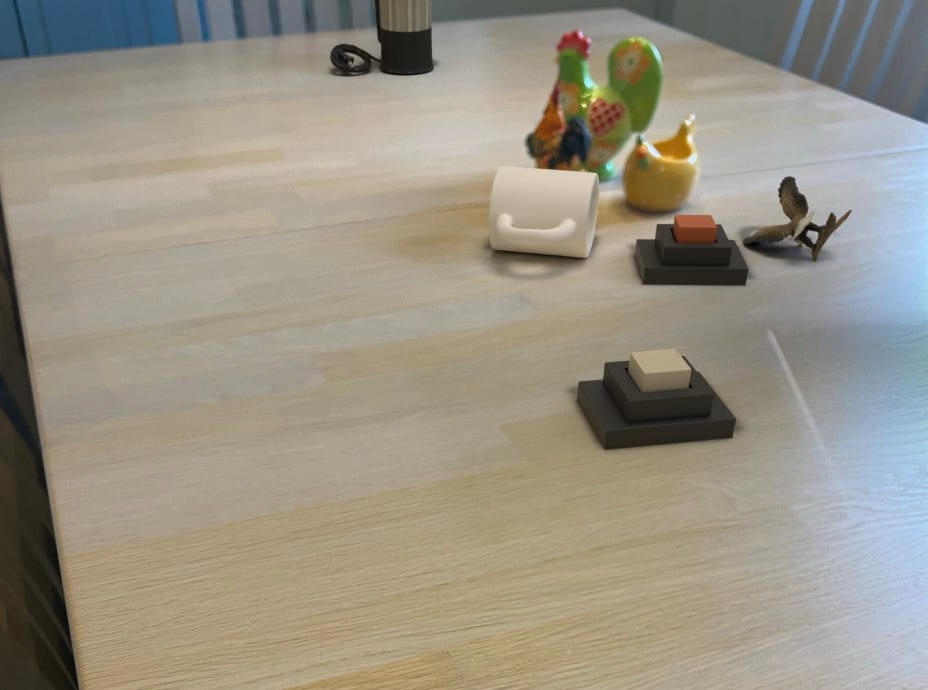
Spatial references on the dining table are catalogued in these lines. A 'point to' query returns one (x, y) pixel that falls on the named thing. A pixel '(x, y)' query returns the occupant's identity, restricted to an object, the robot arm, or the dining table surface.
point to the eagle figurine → (797, 221)
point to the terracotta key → (694, 229)
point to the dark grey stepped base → (689, 260)
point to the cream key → (659, 370)
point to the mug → (543, 211)
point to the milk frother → (395, 39)
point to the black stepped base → (652, 411)
